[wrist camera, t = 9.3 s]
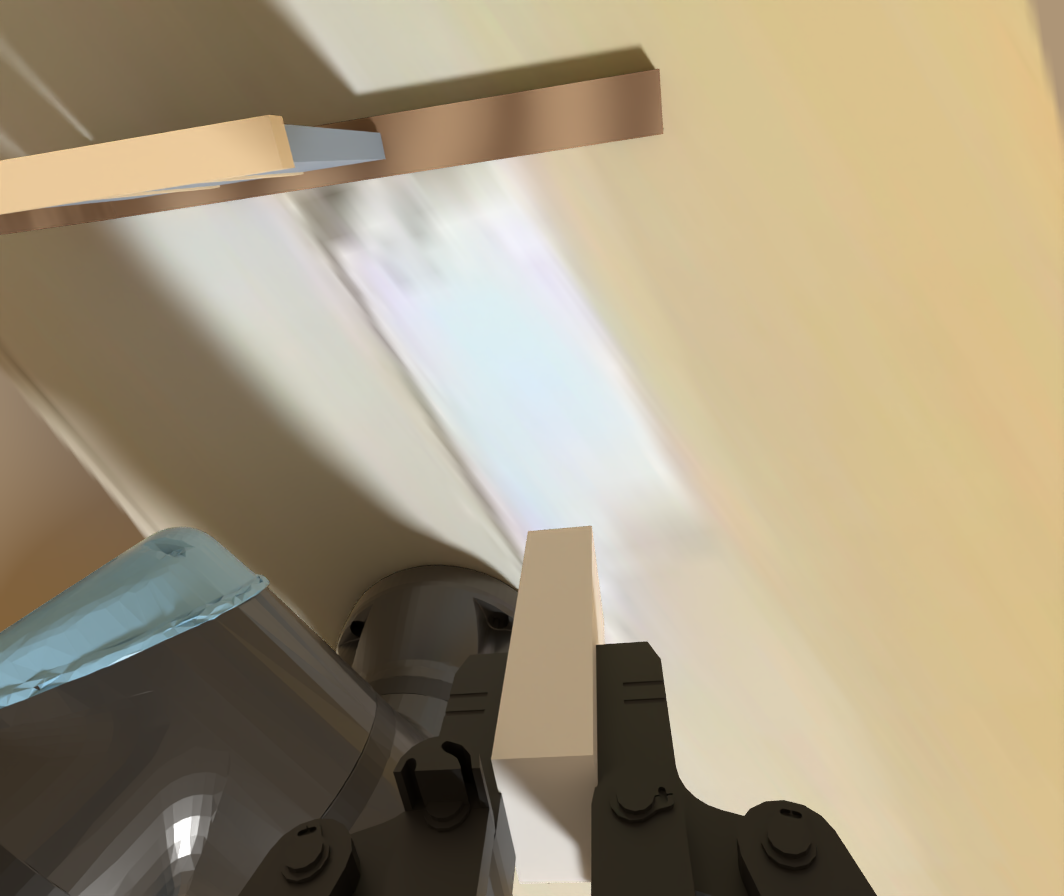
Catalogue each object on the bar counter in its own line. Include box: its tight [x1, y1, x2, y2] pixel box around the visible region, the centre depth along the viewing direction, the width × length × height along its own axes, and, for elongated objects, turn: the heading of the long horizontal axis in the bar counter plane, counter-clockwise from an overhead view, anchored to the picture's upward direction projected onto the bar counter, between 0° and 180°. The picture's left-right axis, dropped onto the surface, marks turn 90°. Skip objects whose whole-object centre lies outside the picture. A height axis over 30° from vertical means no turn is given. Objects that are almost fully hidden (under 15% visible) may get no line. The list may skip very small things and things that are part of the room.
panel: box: [0, 115, 386, 215], centre depth 29 cm, size 14×2×13 cm, turn 98°
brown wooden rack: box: [0, 69, 663, 235], centre depth 29 cm, size 31×3×14 cm, turn 98°
